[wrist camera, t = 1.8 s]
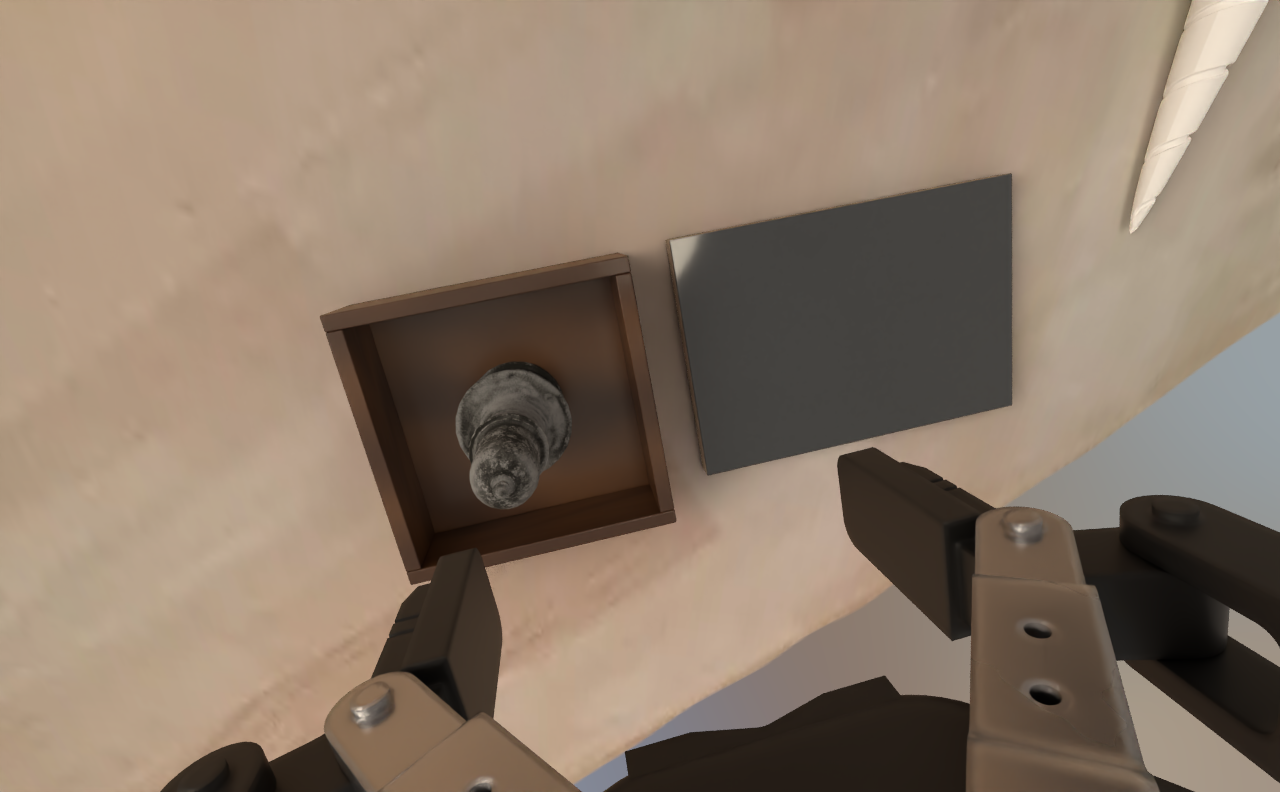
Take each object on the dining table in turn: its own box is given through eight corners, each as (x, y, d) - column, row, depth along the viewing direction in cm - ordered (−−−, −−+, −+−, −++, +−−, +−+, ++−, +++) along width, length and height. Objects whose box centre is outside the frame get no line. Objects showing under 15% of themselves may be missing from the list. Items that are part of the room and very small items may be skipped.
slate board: (665, 239, 33) (669, 239, 32) (997, 175, 35) (1012, 173, 34) (702, 468, 37) (707, 475, 36) (998, 400, 39) (1012, 405, 38)
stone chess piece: (586, 380, 34) (603, 454, 23) (545, 469, 35) (543, 583, 24) (488, 339, 33) (454, 396, 21) (449, 433, 34) (396, 535, 22)
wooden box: (349, 305, 32) (318, 316, 27) (618, 252, 33) (627, 255, 29) (426, 544, 36) (410, 585, 32) (662, 489, 37) (676, 522, 33)
